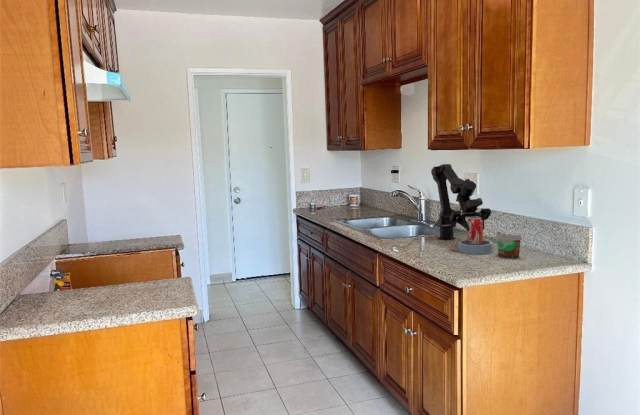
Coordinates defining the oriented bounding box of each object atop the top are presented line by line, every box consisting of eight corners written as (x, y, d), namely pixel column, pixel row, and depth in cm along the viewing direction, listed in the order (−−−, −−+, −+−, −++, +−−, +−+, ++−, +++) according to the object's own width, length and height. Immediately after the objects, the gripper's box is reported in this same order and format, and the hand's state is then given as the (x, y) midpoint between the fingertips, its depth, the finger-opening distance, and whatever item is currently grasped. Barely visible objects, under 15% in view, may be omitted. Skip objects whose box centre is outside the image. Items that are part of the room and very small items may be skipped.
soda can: (463, 242, 229) (463, 217, 228) (475, 241, 232) (475, 216, 230) (474, 245, 223) (473, 219, 221) (486, 243, 225) (486, 217, 224)
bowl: (452, 251, 230) (452, 242, 229) (472, 246, 237) (472, 238, 237) (477, 255, 217) (477, 247, 217) (498, 250, 225) (498, 242, 225)
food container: (489, 255, 218) (489, 232, 217) (499, 253, 221) (499, 231, 220) (511, 260, 207) (511, 236, 206) (521, 258, 210) (521, 235, 209)
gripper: (451, 193, 227) (462, 220, 217) (489, 191, 229) (501, 218, 220) (445, 208, 236) (455, 235, 226) (481, 205, 238) (492, 232, 229)
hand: (476, 229), depth 225 cm, fingers closed on soda can, 7 cm apart
